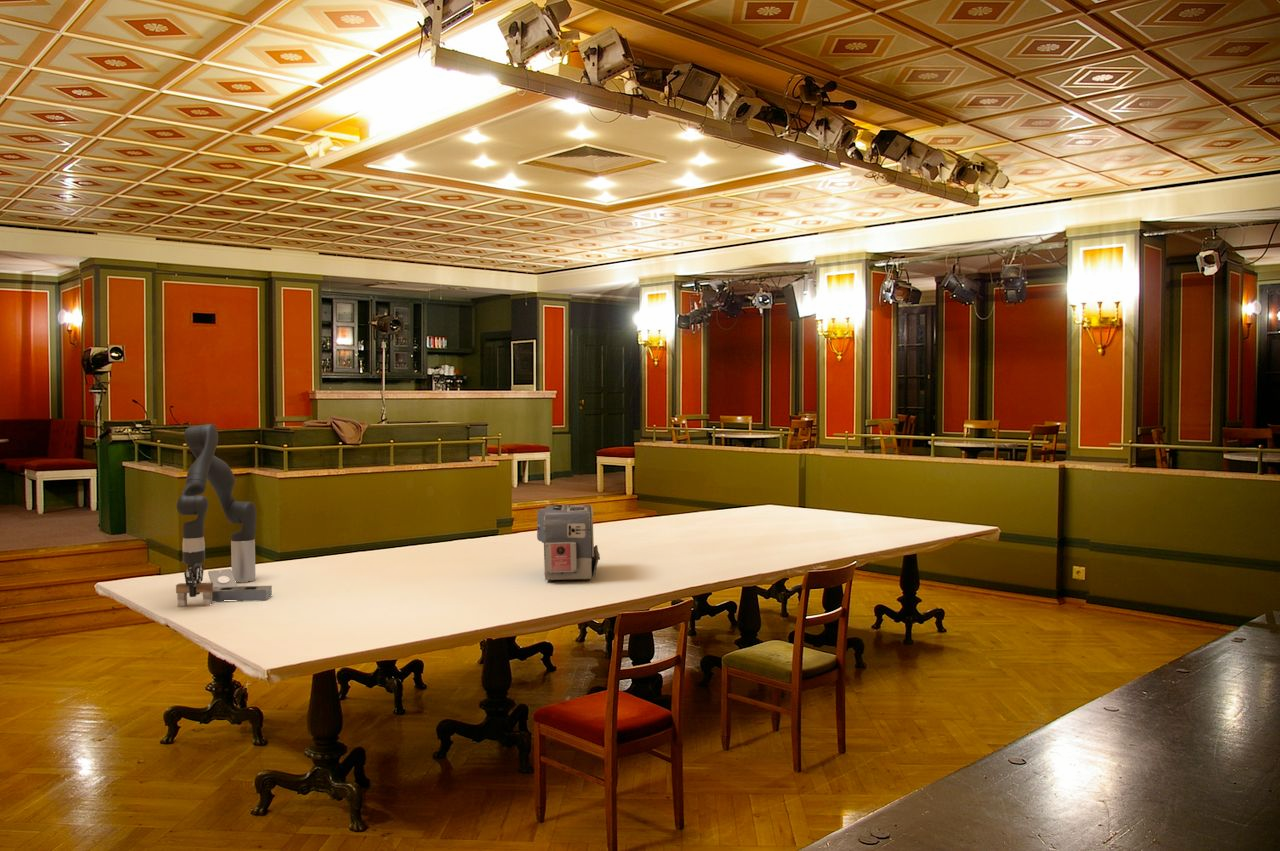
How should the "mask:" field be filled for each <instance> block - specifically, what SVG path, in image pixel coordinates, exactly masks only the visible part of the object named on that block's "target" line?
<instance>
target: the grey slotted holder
mask: <svg viewBox="0 0 1280 851" xmlns="http://www.w3.org/2000/svg"><path fill="white" fill-rule="evenodd" d="M272 587H273V585H247V586H246V585H244V586H243V585H242V586H241V585H239V586H238V585H237V587H213V591H212V601H224V600H260V601H267V600H268V599H270V598H271V597H272V596H273V594H272V593H273V588H272ZM271 595H272V596H271ZM270 596H271V597H270ZM269 597H270V598H269ZM267 598H268V599H267ZM266 599H267V600H266Z"/></svg>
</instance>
